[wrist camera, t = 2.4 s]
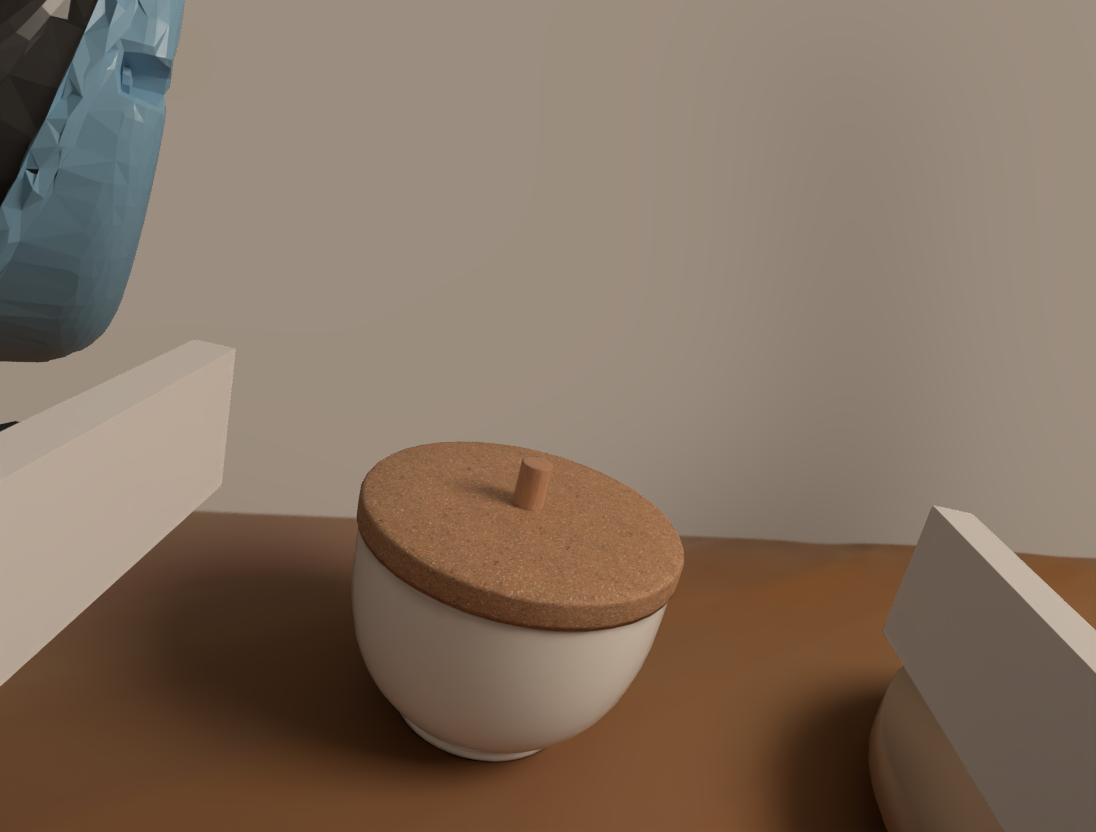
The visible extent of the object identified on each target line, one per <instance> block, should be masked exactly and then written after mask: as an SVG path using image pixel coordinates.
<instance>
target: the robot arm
mask: <svg viewBox="0 0 1096 832" xmlns="http://www.w3.org/2000/svg"><path fill="white" fill-rule="evenodd" d="M184 3H185V0H0V361H12V362H48V361H49V360H53V359H58V358H62V357H65V356H67V355H69V354H71V353H73V352H76V351H80V350H83V349H84V348H86V347H88V346H89V345H91V344H92V343H93V342H94V341H95V340H96V339H98V338H99V337H100V336H101V335H102V334H103V333H104V332H105V330H106V329H107V327H108V326H109V325H110V323H111V321H112V319H113V317H114V315H115V314H116V312H117V310H118V307H119V305H120V303H121V300H122V297H123V294H124V291H125V288H126V285H127V282H128V279H129V276H130V273H131V269H132V266H133V262H134V258H135V255H136V251H137V247H138V243H139V239H140V235H141V231H142V228H143V224H144V220H145V215H146V211H147V207H148V203H149V198H150V194H151V189H152V185H153V180H154V175H155V171H156V166H157V162H158V156H159V150H160V145H161V139H162V134H163V128H164V123H165V114H166V113H165V111H166V105H165V99H164V94H165V93H166V91H167V90H168V89H169V88H170V82H171V75H172V67H173V60H174V57H175V53H176V50H177V47H178V43H179V39H180V32H181V26H182V19H183V11H184ZM235 351H236V349H235V348H231V347H226V346H222V345H217V344H213V343H208V342H204V341H200V340H195V339H194V340H192V341H190V342H188V343H185V344H183V345H181V346H179V347H177V348H175V349H173V350H171V351H169V352H167V353H164V354H162V355H160V356H158V357H156V358H154V359H152V360H150V361H148V362H146V363H143V364H141V365H139V366H137V367H135V368H133V369H131V370H129V371H127V372H125V373H123V374H120V375H118V376H117V377H114V378H112V379H110V380H108V381H106V382H104V383H101V384H100V385H97V386H95V387H93V388H91V389H89V390H87V391H85V392H83V393H81V394H78V395H76V396H74V397H72V398H70V399H68V400H66V401H64V402H62V403H60V404H57V405H55V406H53V407H51V408H49V409H47V410H45V411H43V412H41V413H38V414H36V415H34V416H32V417H30V418H28V419H26V420H24V421H22V422H16V421H14V422H9V423H5V424H0V686H1V685H2V684H3V683H4V682H6V681H7V680H8V679H9V678H10V677H11V676H12V675H13V674H14V673H15V672H17V671H18V670H19V669H20V668H21V667H22V666H23V665H24V664H25V663H26V662H28V661H29V660H30V659H31V658H32V657H33V656H34V655H35V654H36V653H38V652H39V651H40V650H41V649H42V648H43V647H44V646H45V645H46V644H47V643H49V642H50V641H51V640H52V639H53V638H54V637H55V636H56V635H57V634H58V633H60V632H61V631H62V630H63V629H64V628H65V627H66V626H67V625H68V624H69V623H71V622H72V621H73V620H74V619H75V618H76V617H77V616H78V615H79V614H80V613H82V612H83V611H84V610H85V609H86V608H87V607H88V606H89V605H90V604H91V603H93V602H94V601H95V600H96V599H97V598H98V597H99V596H100V595H101V594H102V593H104V592H105V591H106V590H107V589H108V588H109V587H110V586H111V585H112V584H113V583H115V582H116V581H117V580H118V579H119V578H120V577H121V576H122V575H123V574H124V573H126V572H127V571H128V570H129V569H130V568H131V567H132V566H133V565H134V564H135V563H137V562H138V561H139V560H140V559H141V558H142V557H143V556H144V555H145V554H146V553H148V552H149V551H150V550H151V549H152V548H153V547H154V546H155V545H156V544H157V543H159V542H160V541H161V540H162V539H163V538H164V537H165V536H166V535H167V534H168V533H170V532H171V531H172V530H173V529H174V528H175V527H176V526H177V525H178V524H179V523H181V522H182V521H183V520H184V519H185V518H186V517H187V516H188V515H189V514H190V513H192V512H193V511H194V510H195V509H196V508H197V507H198V506H199V505H200V504H201V503H202V502H204V501H205V500H206V499H207V498H208V497H209V496H210V495H211V494H212V493H213V492H215V491H216V490H217V489H218V488H219V487H220V486H221V485H222V476H223V467H224V457H225V447H226V438H227V428H228V419H229V408H230V398H231V390H232V380H233V371H234V360H235ZM882 632H883V633H884V635H885V637H886V638H887V640H888V641H889V643H890V645H891V646H892V648H893V650H894V651H895V653H896V655H897V656H898V658H899V659H900V661H901V663H902V664H903V666H904V668H905V669H906V671H907V673H908V674H909V676H910V677H911V679H912V681H913V682H914V684H915V686H916V687H917V689H918V691H919V692H920V694H921V695H922V697H923V699H924V700H925V702H926V704H927V705H928V707H929V709H930V710H931V712H932V713H933V715H934V717H935V718H936V720H937V722H938V723H939V725H940V727H941V728H942V730H943V731H944V733H945V735H946V736H947V738H948V740H949V741H950V743H951V745H952V746H953V748H954V749H955V751H956V753H957V754H958V756H959V758H960V759H961V761H962V763H963V764H964V766H965V767H966V769H967V771H968V772H969V774H970V776H971V777H972V779H973V781H974V782H975V784H976V785H977V787H978V789H979V790H980V792H981V794H982V795H983V797H984V799H985V800H986V802H987V804H988V805H989V807H990V808H991V810H992V812H993V813H994V815H995V817H996V818H997V820H998V822H999V823H1000V825H1001V826H1002V828H1003V830H1004V831H1005V832H1096V630H1095V629H1094V628H1093V627H1091V626H1090V625H1089V624H1088V623H1087V622H1086V621H1085V620H1084V619H1083V618H1082V617H1081V616H1080V615H1079V614H1078V613H1077V612H1076V611H1075V610H1073V609H1072V608H1071V607H1070V606H1069V605H1068V604H1067V603H1066V602H1065V601H1064V600H1063V599H1062V598H1061V597H1060V596H1059V595H1058V594H1057V593H1056V592H1054V591H1053V590H1052V589H1051V588H1050V587H1049V586H1048V585H1047V584H1046V583H1045V582H1044V581H1043V580H1042V579H1041V578H1040V577H1039V576H1038V575H1036V574H1035V573H1034V572H1033V571H1032V570H1031V569H1030V568H1029V567H1028V566H1027V565H1026V564H1025V563H1024V562H1023V561H1022V560H1021V559H1020V558H1019V557H1017V556H1016V555H1015V554H1014V553H1013V552H1012V551H1011V550H1010V549H1009V548H1008V547H1007V546H1006V545H1005V544H1004V543H1003V542H1002V541H1000V540H999V539H998V538H997V537H996V536H995V535H994V534H993V533H992V532H991V531H990V530H989V529H988V528H987V527H986V526H985V525H984V524H983V523H982V522H980V521H979V520H978V519H977V518H976V517H975V516H974V515H973V514H970V513H966V512H961V511H957V510H952V509H948V508H944V507H939V506H934V505H932V508H931V510H930V513H929V515H928V518H927V521H926V523H925V526H924V528H923V530H922V533H921V535H920V538H919V541H918V543H917V545H916V548H915V550H914V553H913V555H912V558H911V560H910V563H909V565H908V568H907V570H906V573H905V575H904V578H903V580H902V583H901V585H900V588H899V590H898V593H897V595H896V598H895V600H894V603H893V605H892V608H891V610H890V613H889V615H888V618H887V620H886V623H885V625H884V628H883V630H882Z"/></svg>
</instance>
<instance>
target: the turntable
mask: <svg viewBox="0 0 1096 832" xmlns="http://www.w3.org/2000/svg"><path fill="white" fill-rule="evenodd" d="M868 765H869V771H870V776H871V782H872V787H873V793H874V795H875V798H876V801H877V804H878V807H879V810H880V813H881V816H882V818H883V821H884V824H885V827H886V829H887V831H888V832H1005V831H1004V830H1003V828H1002V826H1001V825H1000V823H999V822H998V820H997V818H996V817H995V815H994V813H993V812H992V810H991V808H990V807H989V805H988V804H987V802H986V800H985V799H984V797H983V795H982V794H981V792H980V790H979V789H978V787H977V785H976V784H975V782H974V781H973V779H972V777H971V776H970V774H969V772H968V771H967V769H966V767H965V766H964V764H963V763H962V761H961V759H960V758H959V756H958V754H957V753H956V751H955V749H954V748H953V746H952V745H951V743H950V741H949V740H948V738H947V736H946V735H945V733H944V731H943V730H942V728H941V727H940V725H939V723H938V722H937V720H936V718H935V717H934V715H933V713H932V712H931V710H930V709H929V707H928V705H927V704H926V702H925V700H924V699H923V697H922V695H921V694H920V692H919V691H918V689H917V687H916V686H915V684H914V682H913V681H912V679H911V677H910V676H909V674H908V673H907V671H906V669H905V668H904V666H903V667H902V668H901V669H899V670H898V672H897V673H896V675H895V676H894V678H893V680H892V681H891V683H890V684H889V686H888V688H887V691H886V693H885V695H884V697H883V700H882V702H881V704H880V706H879V709H878V711H877V713H876V715H875V718H874V721H873V725H872V728H871V732H870V736H869V747H868Z"/></svg>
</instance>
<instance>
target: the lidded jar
mask: <svg viewBox="0 0 1096 832" xmlns="http://www.w3.org/2000/svg"><path fill="white" fill-rule="evenodd" d="M357 522H358V530H357V536H356V543H355V551H354V560H353V568H352V594H351V599H352V609H353V619H354V626H355V633H356V638H357V641H358V644H359V648H360V651H361V655H362V657H363V659H364V662H365V664H366V667H367V669H368V671H369V673H370V674H371V676H372V678H373V680H374V682H375V683H376V685H377V686H378V688H379V689H380V691H381V692H382V694H383V695H384V696H385V697H386V698H387V699H388V700H389V702H390V703H391V704H392V705H393V706H394V707H395V708H396V709H397V710H398V711H399V712H400V714H401V716H402V717H403V719H404V720H405V722H406V723H407V724H408V725H409V726H410V727H411V729H412V730H413V731H414V732H415V733H416V734H418V735H419V736H420V737H422V738H423V739H424V740H425V741H427V742H429V743H430V744H432V745H434V746H435V747H437V748H439V749H441V750H443V751H446V752H448V753H450V754H453V755H456V756H460V757H463V758H467V759H472V760H478V761H488V762H502V761H512V760H517V759H522V758H525V757H528V756H531V755H533V754H535V753H537V752H539V751H541V750H543V749H544V748H546V747H549V746H552V745H555V744H558V743H560V742H563V741H566V740H568V739H570V738H572V737H574V736H575V735H577V734H579V733H581V732H582V731H584V730H586V729H587V728H589V727H590V726H592V725H593V724H594V723H596V722H597V721H598V720H599V719H600V718H602V717H603V716H604V715H605V714H606V713H607V712H608V711H609V710H610V709H611V708H612V707H613V706H614V705H615V704H616V703H617V702H618V701H619V699H620V698H621V697H622V695H623V694H624V693H625V691H626V690H627V689H628V687H629V685H630V684H631V682H632V681H633V679H634V678H635V676H636V675H637V673H638V672H639V670H640V669H641V667H642V665H643V663H644V661H645V659H646V657H647V655H648V653H649V651H650V649H651V646H652V644H653V641H654V638H655V636H656V633H657V631H658V628H659V625H660V623H661V620H662V617H663V614H664V612H665V609H666V605H667V602H668V601H669V600H670V598H671V597H672V596H673V593H674V591H675V588H676V586H677V583H678V580H679V577H680V575H681V572H682V568H683V565H684V550H683V547H682V544H681V541H680V537H679V535H678V533H677V532H676V530H675V529H674V527H673V525H672V524H671V523H670V521H669V520H668V519H667V518H666V516H665V515H664V514H663V513H662V512H661V511H660V510H659V509H658V508H657V507H655V506H654V505H653V504H652V503H651V502H650V501H648V500H647V499H645V498H644V497H642V496H641V495H640V494H639V493H637V492H636V491H635V490H633V489H631V488H629V487H628V486H626V485H624V484H622V483H621V482H619V481H617V480H615V479H613V478H611V477H609V476H607V475H605V474H603V473H601V472H599V471H597V470H594V469H591V468H589V467H586V466H584V465H582V464H579V463H576V462H573V461H570V460H567V459H564V458H562V457H558V456H554V455H551V454H547V453H543V452H539V451H534V450H531V449H526V448H522V447H516V446H509V445H502V444H493V443H483V442H440V443H433V444H426V445H420V446H416V447H412V448H407V449H404V450H401V451H399V452H397V453H394V454H392V455H390V456H388V457H386V458H385V459H383V460H382V461H380V462H378V463H377V464H376V465H375V466H374V467H373V468H372V469H371V470H370V472H368V473H367V475H366V477H365V479H364V481H363V482H362V484H361V490H360V495H359V503H358V510H357Z"/></svg>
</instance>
